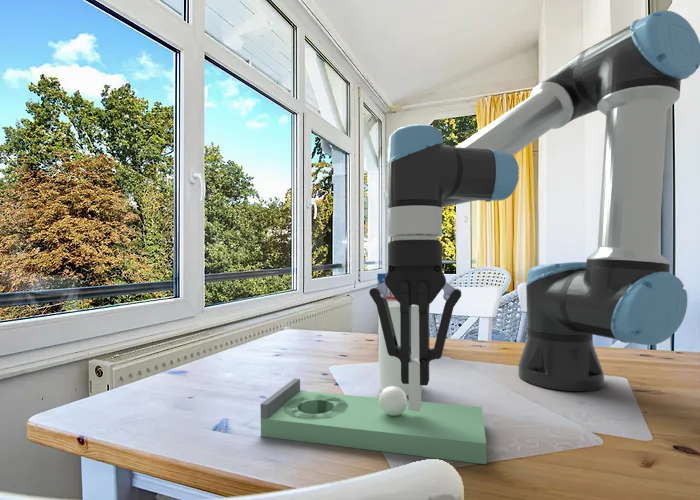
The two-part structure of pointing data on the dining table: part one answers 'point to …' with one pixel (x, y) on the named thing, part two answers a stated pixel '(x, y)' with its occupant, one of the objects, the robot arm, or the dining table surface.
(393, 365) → the cup
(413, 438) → the green
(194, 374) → the dining table surface
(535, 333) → the robot arm
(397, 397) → the ball
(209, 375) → the dining table surface
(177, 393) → the dining table surface
